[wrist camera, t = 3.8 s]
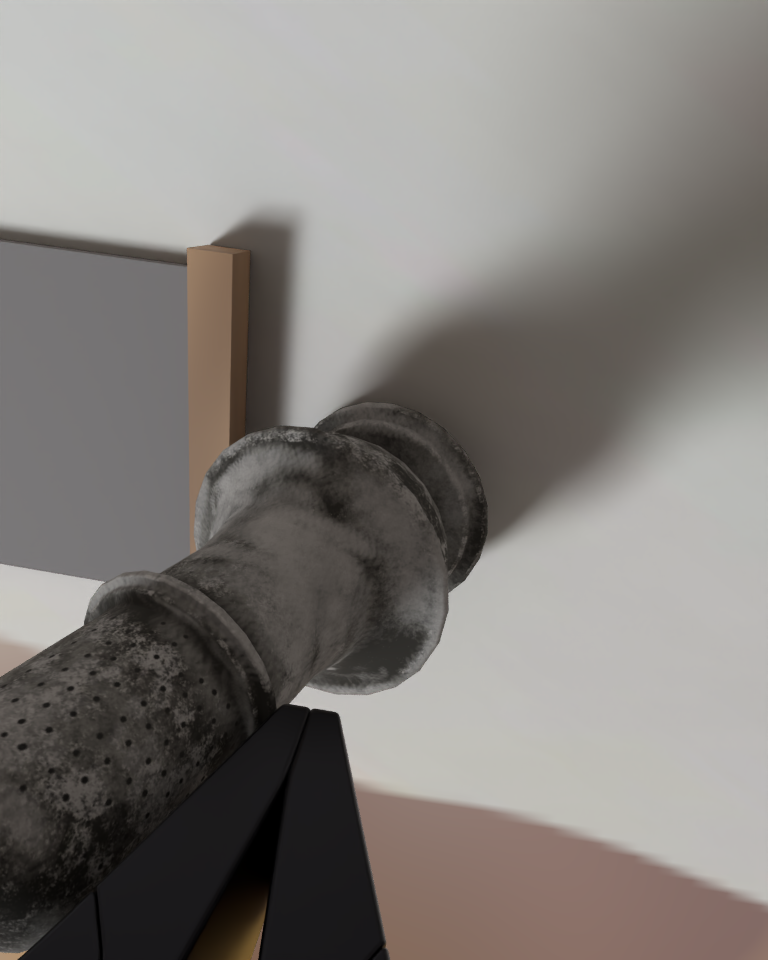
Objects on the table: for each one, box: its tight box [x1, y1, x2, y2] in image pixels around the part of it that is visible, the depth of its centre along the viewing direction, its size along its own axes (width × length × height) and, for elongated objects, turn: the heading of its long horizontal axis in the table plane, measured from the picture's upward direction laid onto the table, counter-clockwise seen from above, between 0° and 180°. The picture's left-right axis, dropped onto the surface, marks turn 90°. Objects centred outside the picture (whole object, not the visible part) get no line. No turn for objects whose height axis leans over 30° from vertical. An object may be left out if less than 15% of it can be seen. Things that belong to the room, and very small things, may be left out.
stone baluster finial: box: [0, 402, 487, 953], centre depth 11 cm, size 6×6×12 cm
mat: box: [0, 239, 190, 582], centre depth 17 cm, size 11×9×1 cm
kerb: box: [187, 245, 250, 555], centre depth 16 cm, size 1×11×1 cm, turn 173°
